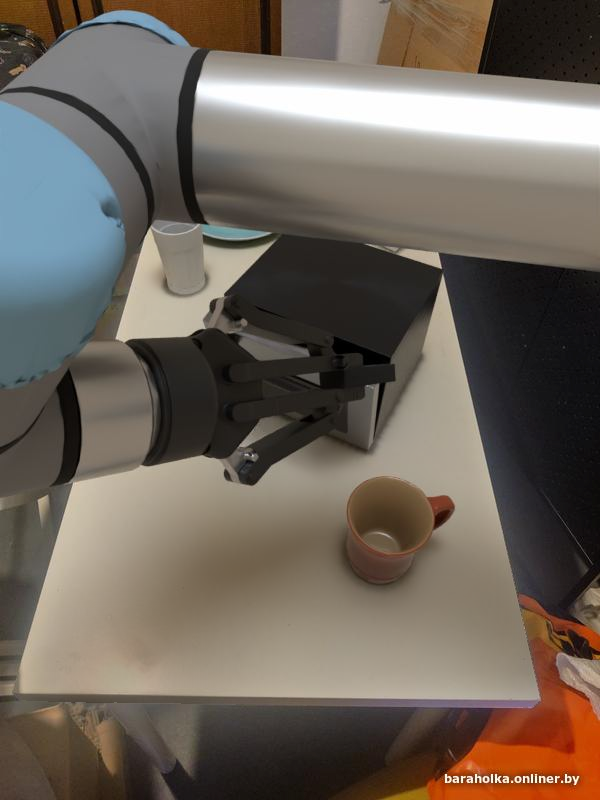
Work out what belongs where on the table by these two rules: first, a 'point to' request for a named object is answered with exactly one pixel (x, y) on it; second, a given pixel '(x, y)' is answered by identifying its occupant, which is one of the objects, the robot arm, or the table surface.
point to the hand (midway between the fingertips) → (382, 372)
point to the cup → (180, 254)
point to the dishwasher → (349, 300)
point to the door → (352, 415)
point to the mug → (390, 526)
